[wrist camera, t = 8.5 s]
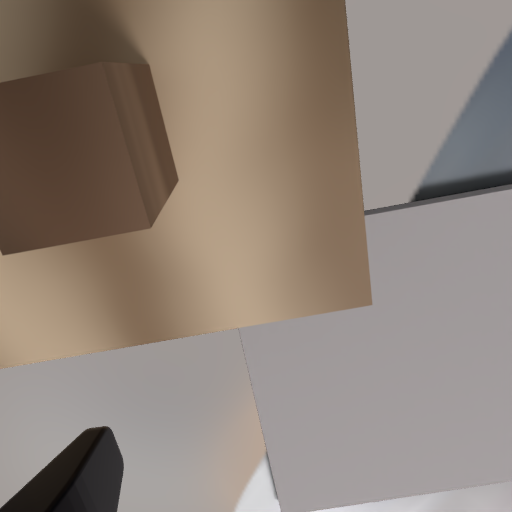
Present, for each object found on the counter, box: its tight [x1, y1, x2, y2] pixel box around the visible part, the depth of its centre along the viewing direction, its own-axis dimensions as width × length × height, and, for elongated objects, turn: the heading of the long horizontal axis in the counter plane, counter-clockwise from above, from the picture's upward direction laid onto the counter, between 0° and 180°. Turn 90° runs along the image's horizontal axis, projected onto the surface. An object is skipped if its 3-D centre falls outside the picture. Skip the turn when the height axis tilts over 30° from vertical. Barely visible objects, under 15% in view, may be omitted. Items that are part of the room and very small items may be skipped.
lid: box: [0, 0, 372, 369], centre depth 10 cm, size 13×13×5 cm
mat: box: [238, 184, 512, 512], centre depth 22 cm, size 17×17×1 cm
